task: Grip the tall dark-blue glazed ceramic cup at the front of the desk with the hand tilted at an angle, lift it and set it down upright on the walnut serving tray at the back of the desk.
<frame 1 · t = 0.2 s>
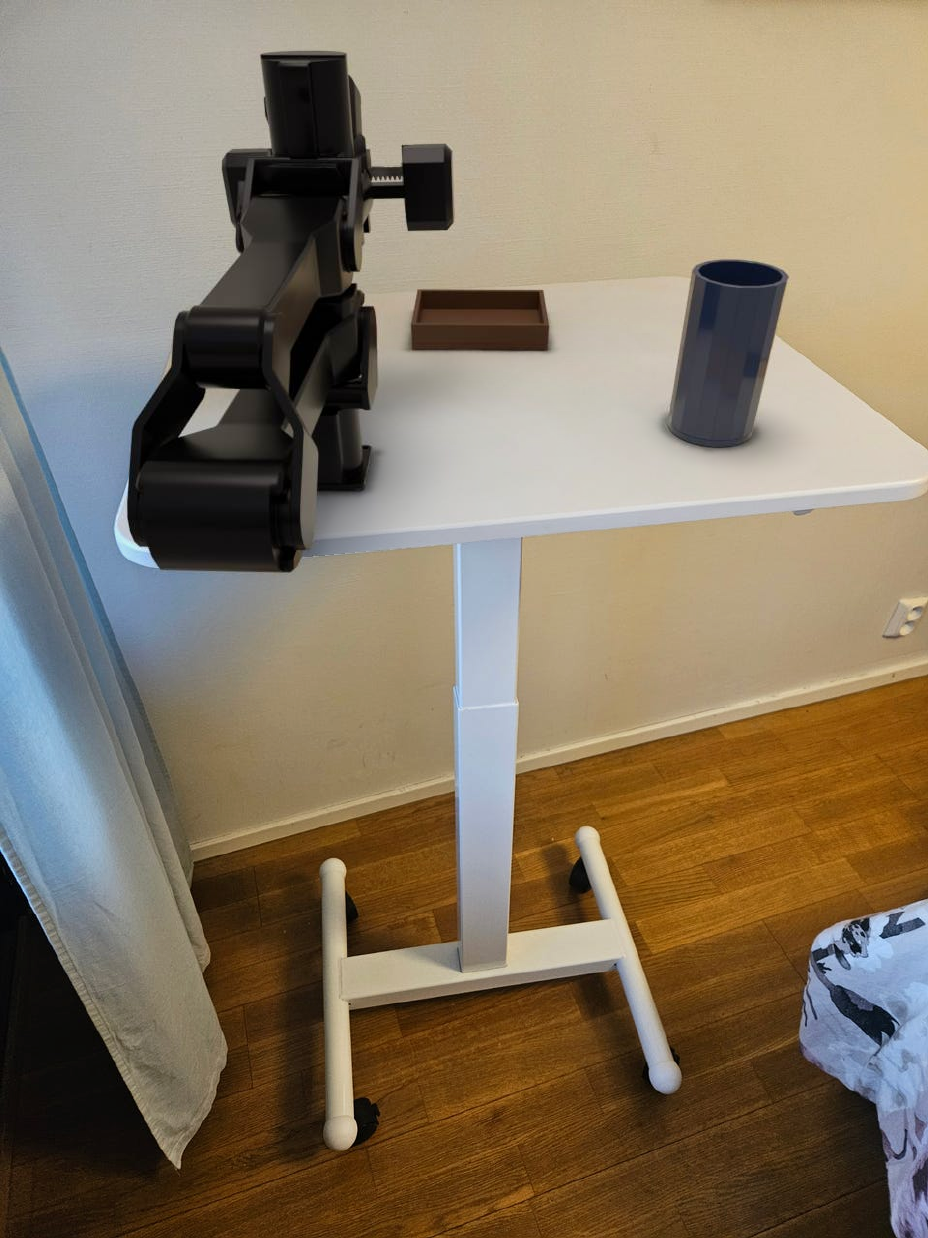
hand: (354, 170, 77), 17 cm above the table, tool horizontal, fingers open, 9 cm apart
tray: (479, 330, 92), on the table
green rounded piece: (271, 308, 98), on the table
cup: (709, 428, 73), on the table
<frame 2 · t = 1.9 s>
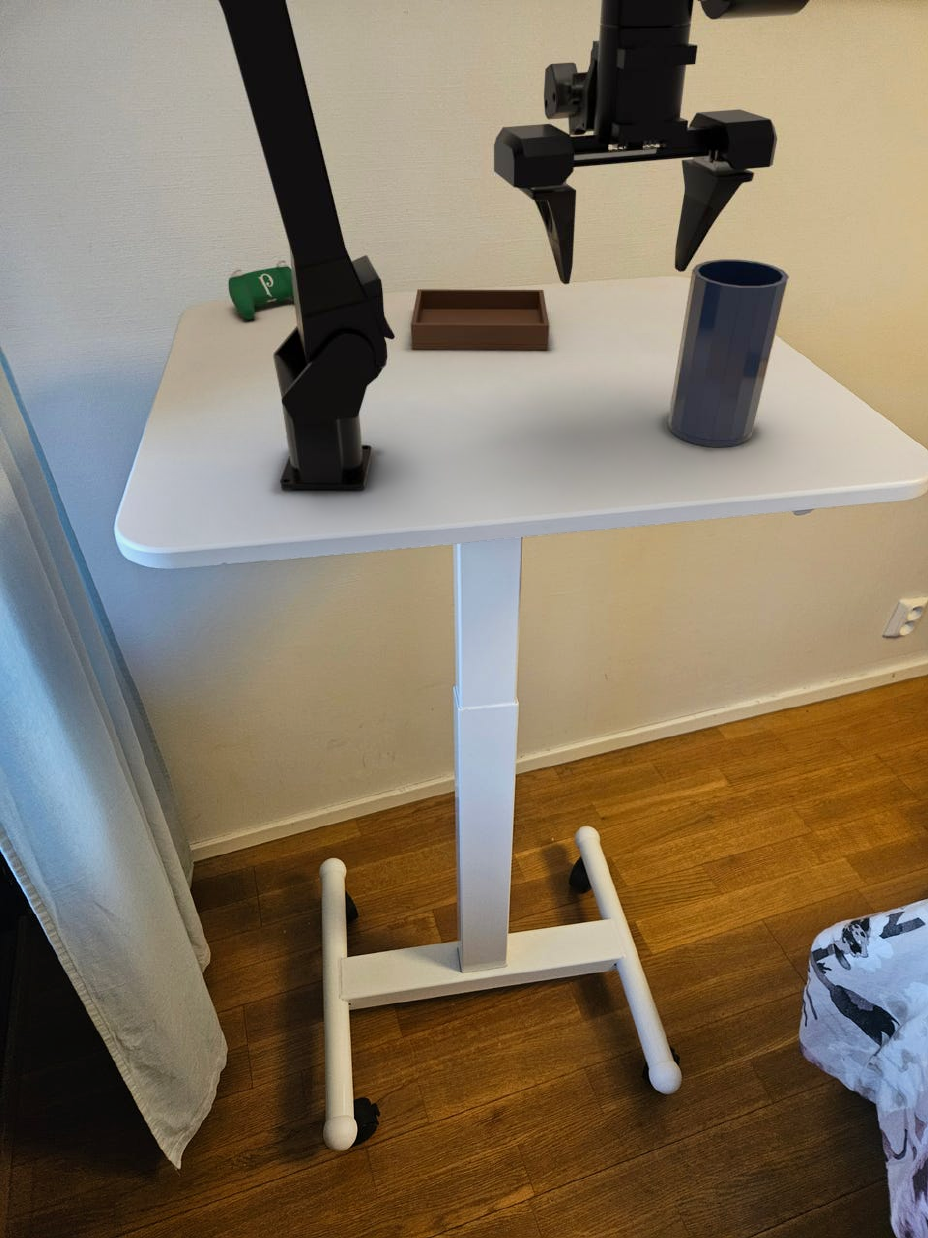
hand: (622, 276, 64), 13 cm above the table, tool pointing down, fingers open, 9 cm apart
nothing on the table moved.
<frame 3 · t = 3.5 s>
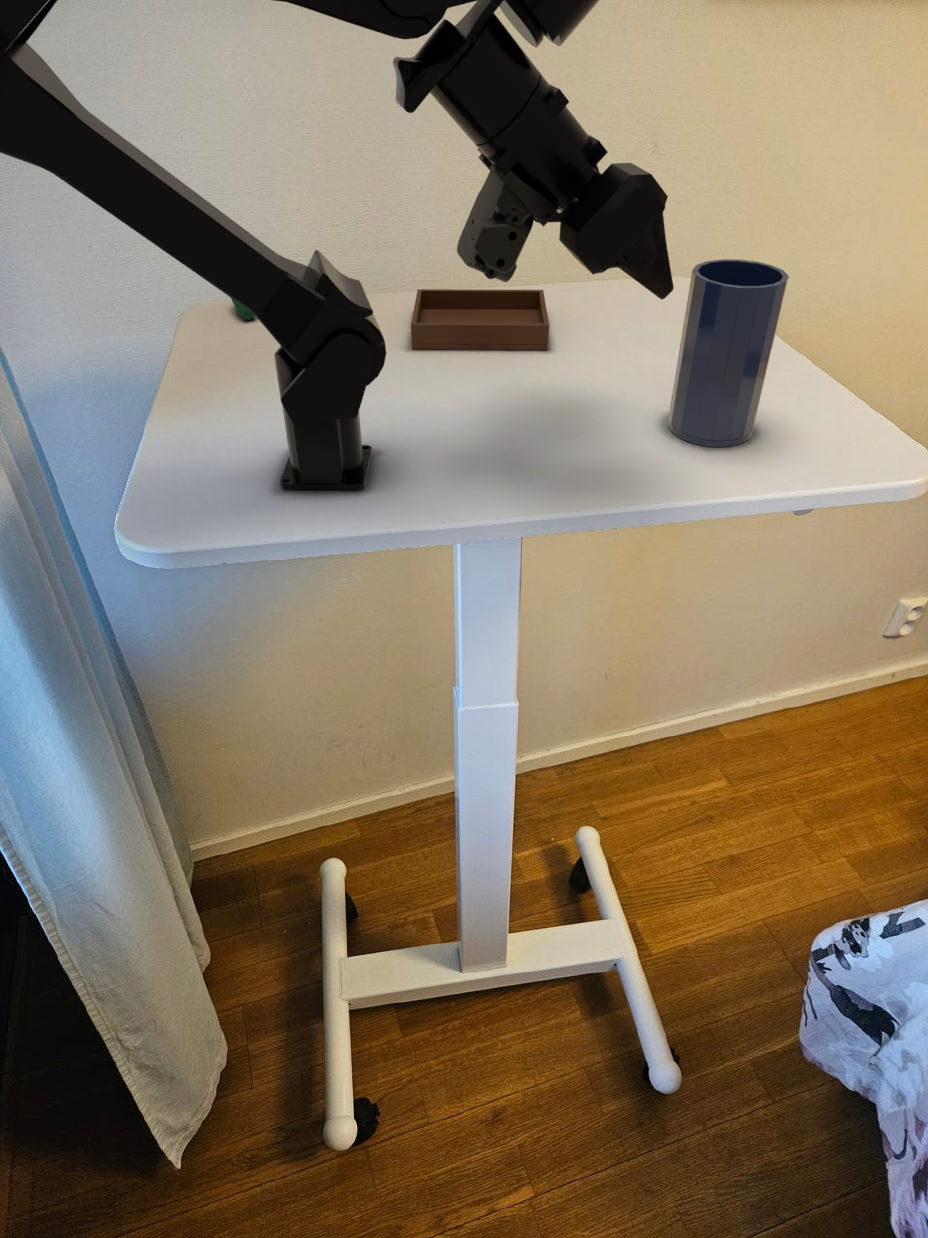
hand: (642, 274, 64), 13 cm above the table, tool tilted 45°, fingers open, 9 cm apart
nothing on the table moved.
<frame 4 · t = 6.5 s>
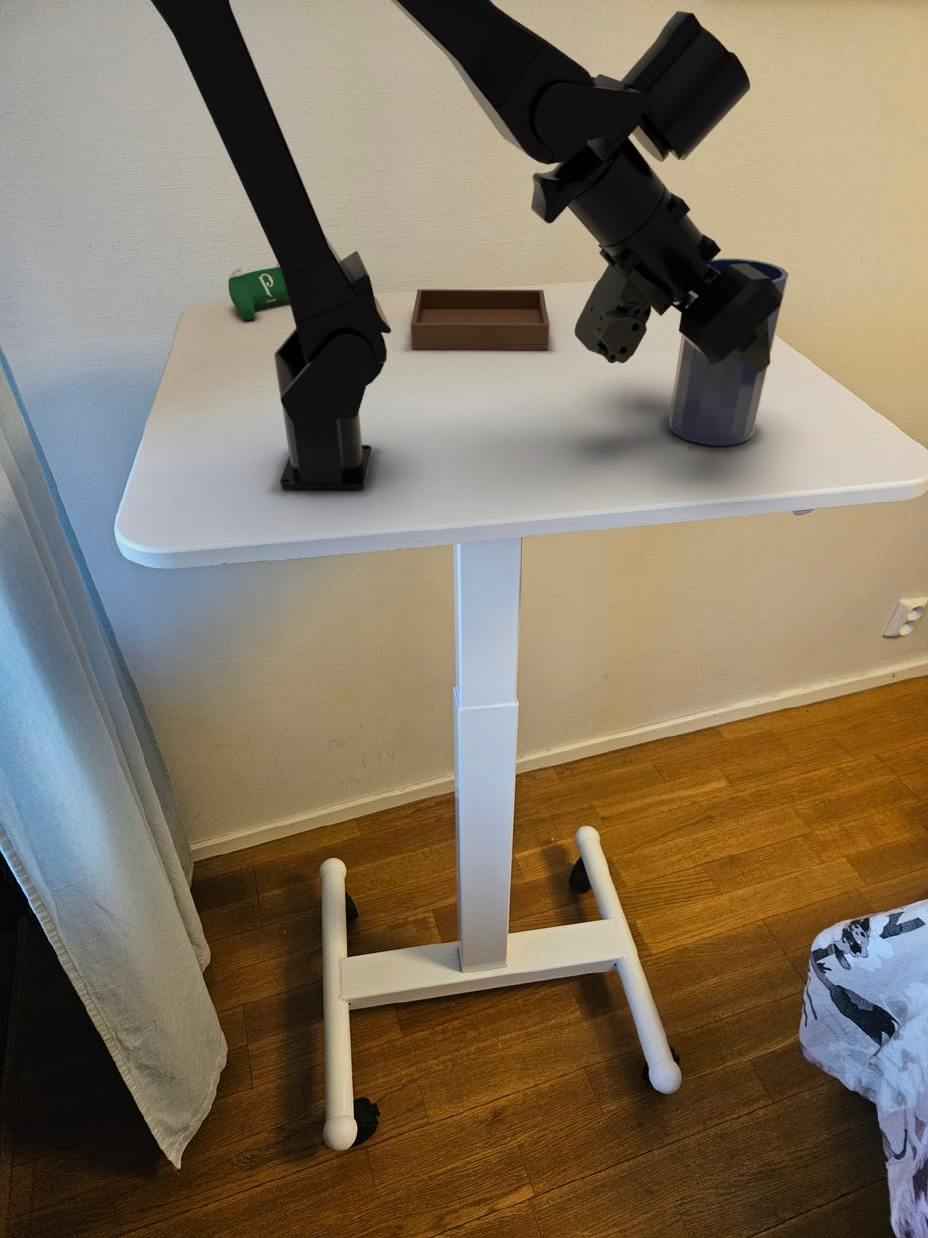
hand: (741, 349, 69), 7 cm above the table, tool tilted 45°, fingers closed on cup, 7 cm apart
cup: (710, 427, 73), on the table, touching gripper
everything else where it was.
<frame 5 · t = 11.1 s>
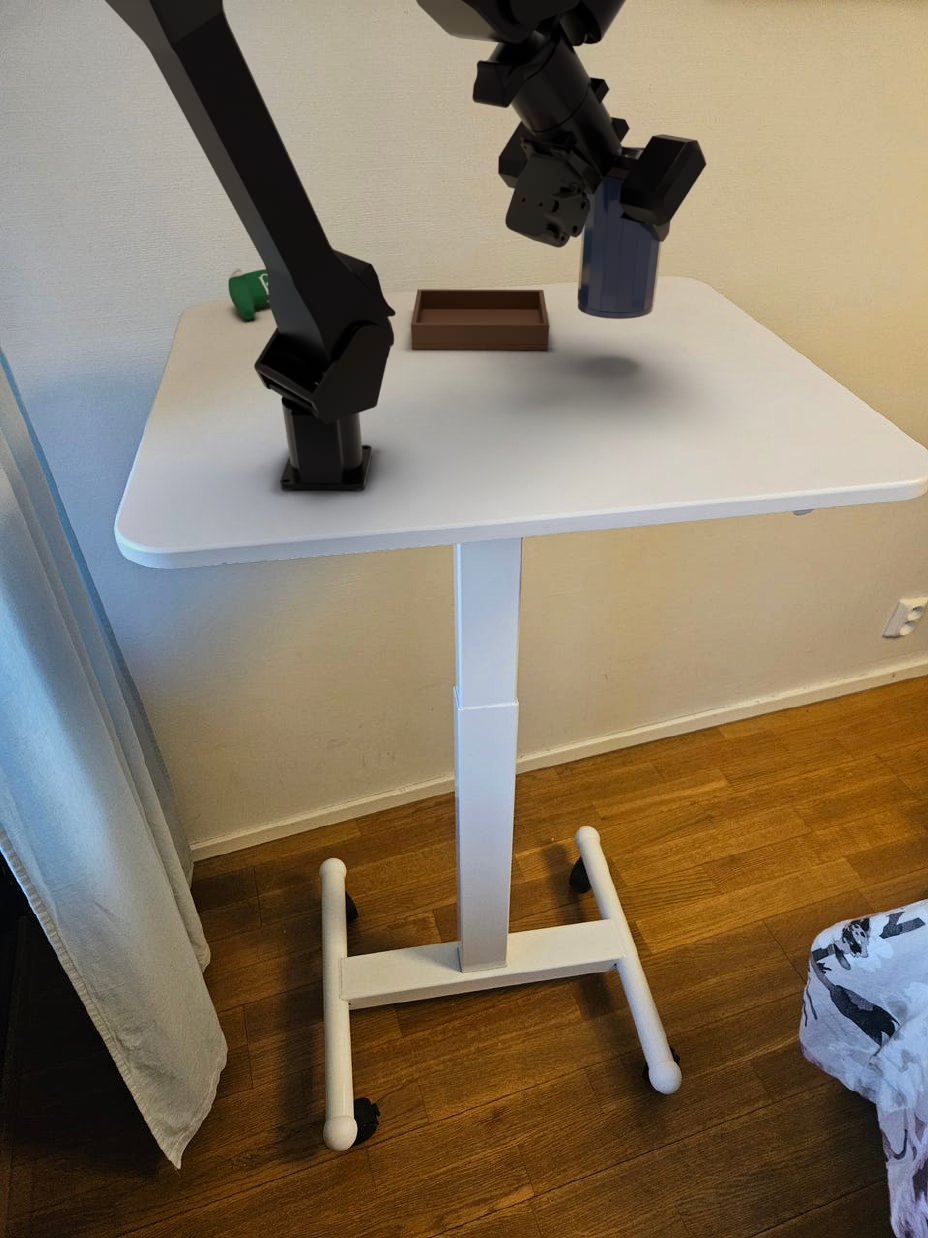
hand: (631, 228, 77), 12 cm above the table, tool tilted 45°, fingers closed on cup, 7 cm apart
cup: (615, 307, 81), point 6 cm above the table, touching gripper
everything else where it was.
when the fingers open (7 cm above the table, at t = 15.8 s): cup stays where it is, resting on tray.
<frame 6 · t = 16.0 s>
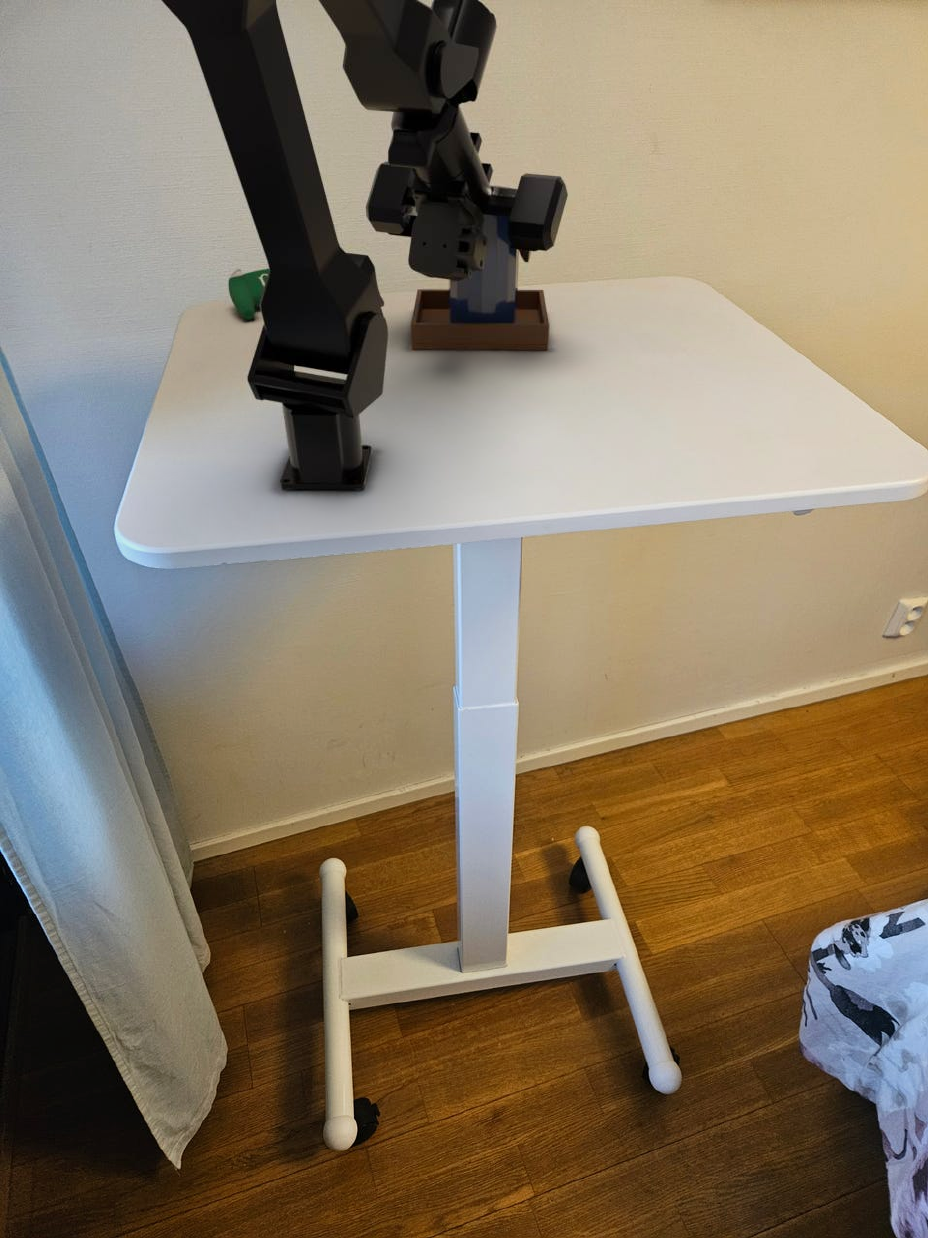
hand: (485, 253, 88), 8 cm above the table, tool tilted 45°, fingers open, 9 cm apart
cup: (482, 325, 91), point 1 cm above the table, touching tray
everything else where it was.
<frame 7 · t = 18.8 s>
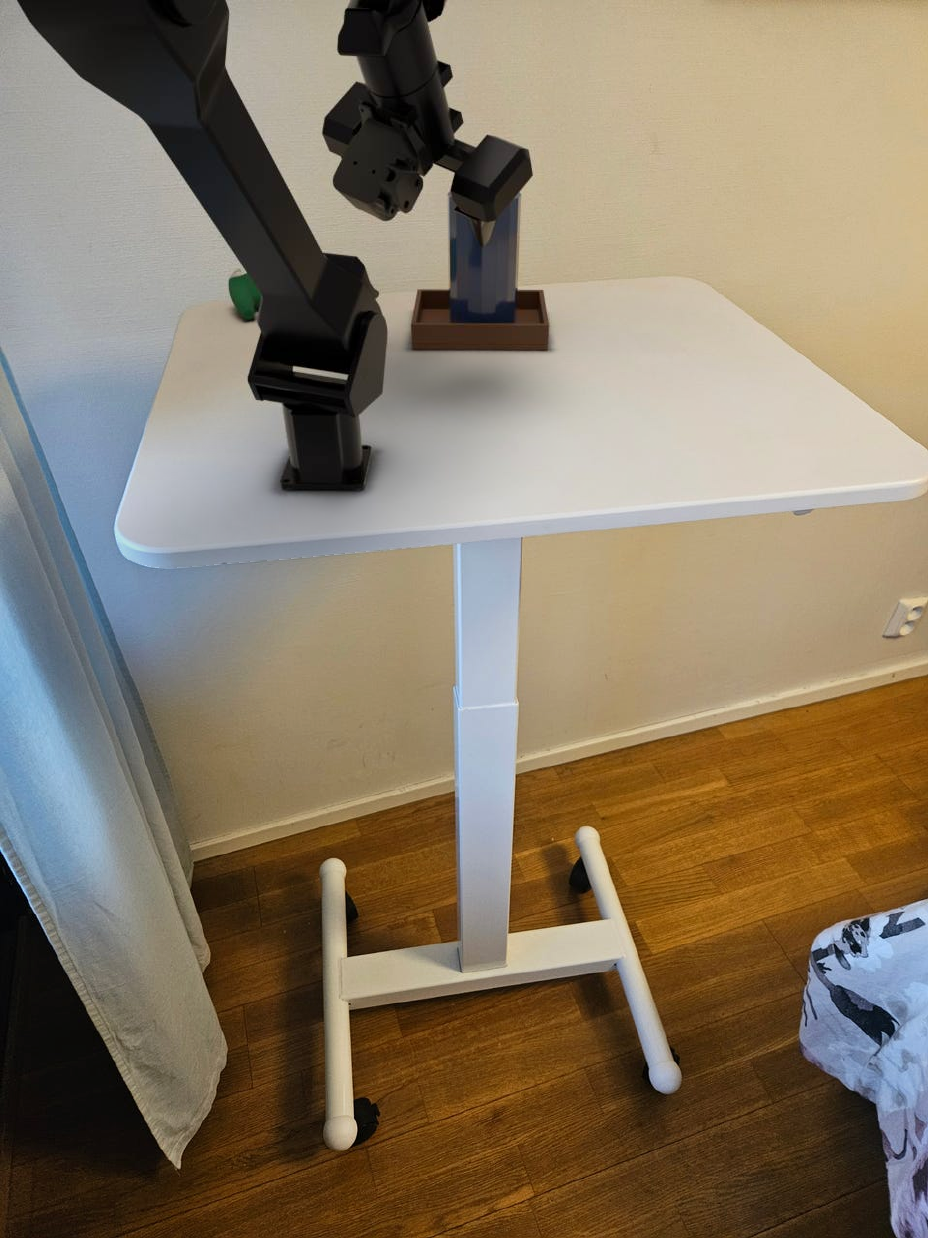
hand: (445, 224, 79), 12 cm above the table, tool tilted 35°, fingers open, 9 cm apart
nothing on the table moved.
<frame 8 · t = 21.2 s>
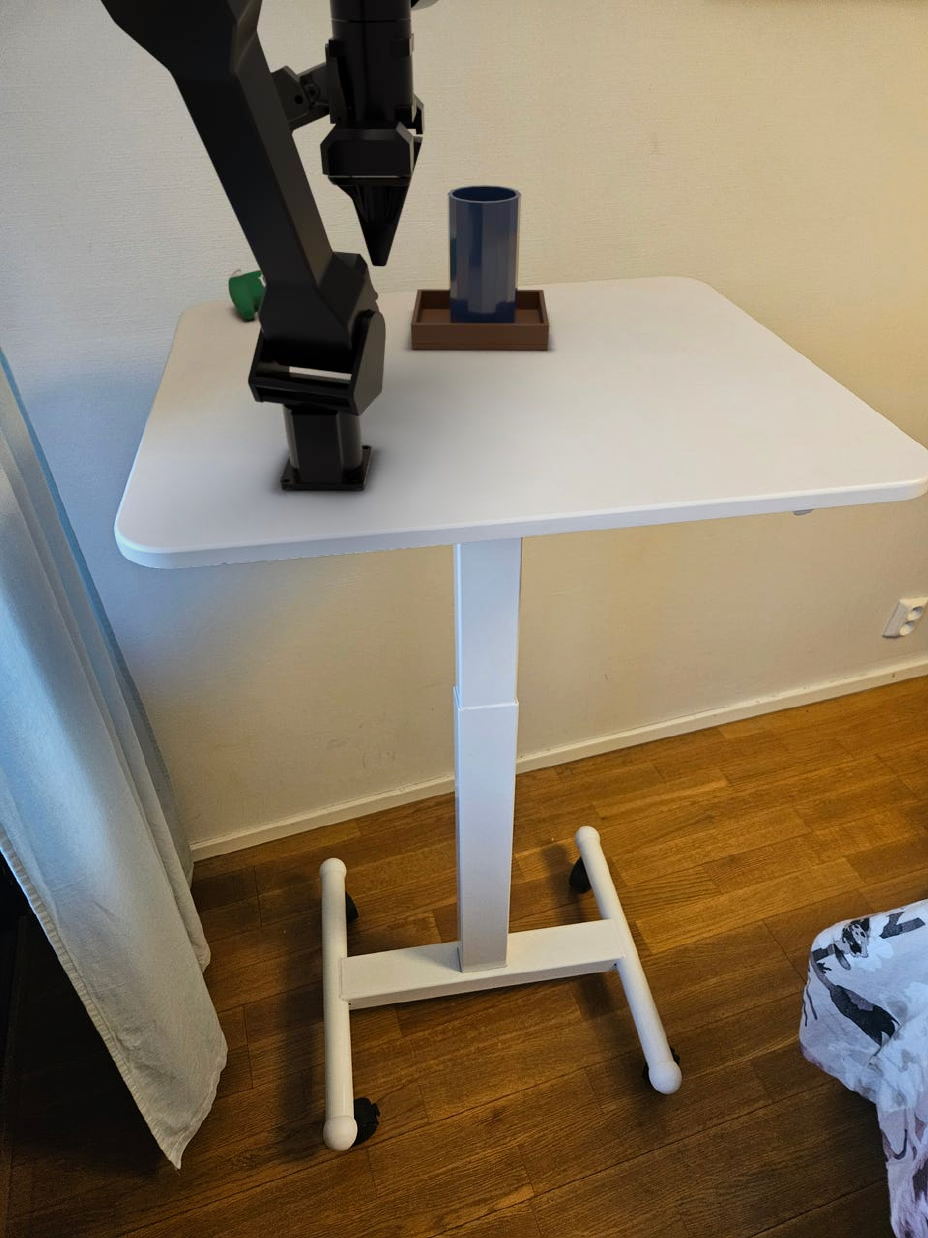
hand: (384, 248, 70), 13 cm above the table, tool pointing down, fingers open, 9 cm apart
nothing on the table moved.
at the end: cup inside the target area in the tray (0.4 cm from its centre), point 0.6 cm above the tray's base; cup tilted 0°; the gripper is holding nothing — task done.
